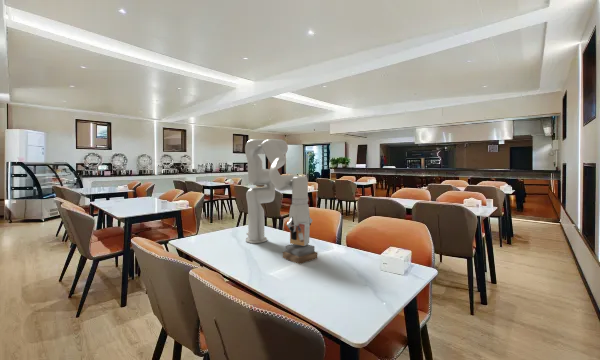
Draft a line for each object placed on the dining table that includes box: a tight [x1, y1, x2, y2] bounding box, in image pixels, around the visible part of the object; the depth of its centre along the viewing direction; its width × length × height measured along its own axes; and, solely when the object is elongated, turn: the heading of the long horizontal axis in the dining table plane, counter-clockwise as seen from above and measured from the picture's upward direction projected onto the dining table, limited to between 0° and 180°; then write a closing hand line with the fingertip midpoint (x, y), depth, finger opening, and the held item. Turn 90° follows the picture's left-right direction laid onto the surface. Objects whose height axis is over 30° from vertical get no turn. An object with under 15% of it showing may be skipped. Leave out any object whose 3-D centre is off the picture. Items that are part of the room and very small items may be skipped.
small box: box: [289, 222, 311, 246], centre depth 143 cm, size 8×6×10 cm
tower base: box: [282, 243, 318, 265], centre depth 143 cm, size 12×12×6 cm
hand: (299, 237), depth 143 cm, fingers closed on small box, 7 cm apart
